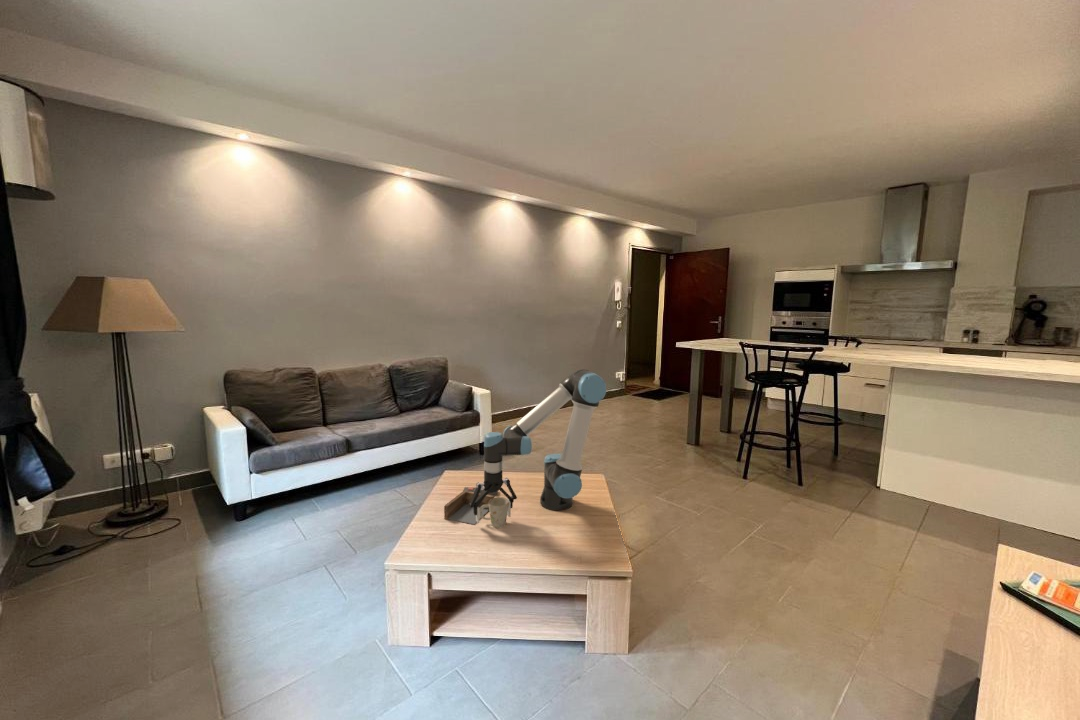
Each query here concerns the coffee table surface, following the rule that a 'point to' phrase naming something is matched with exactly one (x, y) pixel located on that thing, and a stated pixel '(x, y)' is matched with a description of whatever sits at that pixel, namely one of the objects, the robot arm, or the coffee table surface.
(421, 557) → the coffee table surface
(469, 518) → the mat
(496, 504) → the mug
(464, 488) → the remote
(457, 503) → the brown corner wall
